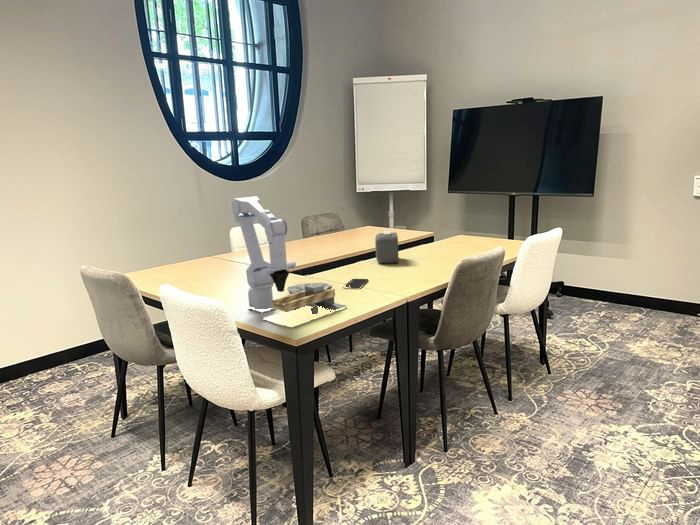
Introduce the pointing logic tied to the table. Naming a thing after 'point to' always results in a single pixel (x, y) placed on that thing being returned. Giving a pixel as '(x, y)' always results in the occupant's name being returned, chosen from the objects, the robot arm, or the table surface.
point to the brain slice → (301, 287)
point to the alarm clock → (387, 247)
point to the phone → (356, 283)
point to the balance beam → (304, 300)
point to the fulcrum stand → (334, 307)
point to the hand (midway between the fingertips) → (280, 291)
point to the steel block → (313, 289)
